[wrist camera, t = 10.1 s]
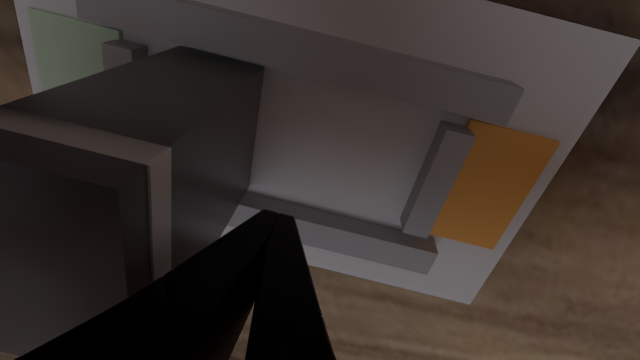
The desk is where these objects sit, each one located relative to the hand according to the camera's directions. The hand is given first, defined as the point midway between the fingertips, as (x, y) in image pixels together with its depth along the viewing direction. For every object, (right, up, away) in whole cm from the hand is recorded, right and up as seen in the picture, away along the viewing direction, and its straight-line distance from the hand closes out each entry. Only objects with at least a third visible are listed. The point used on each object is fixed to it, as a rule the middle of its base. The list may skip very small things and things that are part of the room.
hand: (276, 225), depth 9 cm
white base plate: (0, +3, +5) cm, 6 cm away
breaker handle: (-3, +4, +5) cm, 7 cm away
